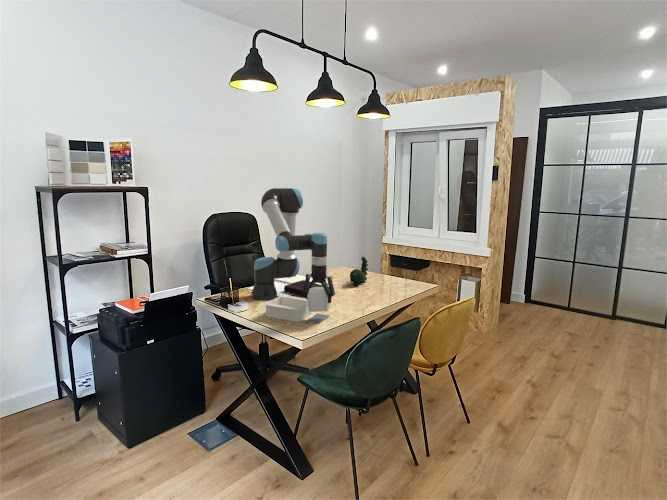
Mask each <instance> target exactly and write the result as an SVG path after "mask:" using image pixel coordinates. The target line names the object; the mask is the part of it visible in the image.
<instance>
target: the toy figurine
mask: <svg viewBox="0 0 667 500" xmlns="http://www.w3.org/2000/svg"><path fill="white" fill-rule="evenodd" d="M360 258H361V262H362V263H361V267H360V269H359V268H355V269H353V270H351V271H350V272H349V273H350V274H349V279H350V280H349V281H351V282H352V285H353V286H355V287H358V286H359V285H360V284H362V285H363V284H365V283H366V282H367V280H368V278H367V276H368V272H367V271H368V269H369V268H367V267H368V266H369V265H368V260H367V259H366V257H365V256H361V257H360Z"/></svg>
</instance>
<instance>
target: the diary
mask: <svg viewBox="0 0 667 500" xmlns="http://www.w3.org/2000/svg"><path fill="white" fill-rule="evenodd" d="M305 280H306V279H305ZM305 280H304V279H302V280H298V281H295V282H292V283H289V284H285V285H284V287H283V291H285V292H284V293H287V292H289V293H288V294H291V293H292V295H296V296H299V297H301V298H306V293H305V292H303V287H304V284H305ZM310 284H311V280H310V281H309V284H308V287H309V286H310ZM314 287H323V285H322V284H321V283H315V284H314V286H313V288H314ZM328 288H329V286H328ZM307 289H308V288H307ZM329 290H330V289H329Z"/></svg>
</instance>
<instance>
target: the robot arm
mask: <svg viewBox="0 0 667 500" xmlns="http://www.w3.org/2000/svg"><path fill="white" fill-rule="evenodd" d="M260 202H261V203H260V205H261V208H262V210H263V212H264V213H265V214H266V215H267V217H268V220H269V222H270V224H271V227H272V229H273V231H274V235H275V236H276V237H275V240H274V244H275V249H276V250H277V251H278V252H279V253H278V254H277V255H276V259H275V257H274V256H264V257H260V258H257V259H256V260H254V263H253V265H254V266H253V271H254V275H253V276H254V277H253V279H254V284H253V287H252V291H251V298H252V299H254V300H260V301H267V300H268V301H271V300H273V299H276V298H278V292H277V288H276V285H275V280H276V279H287V278H288V279H290V278H294V277H297V275H298V273H299V271H300V266H301V265H300V260H299V258H298V257H297V255H296V254H295V251H306V250H307V251H311V268H310V269H311V273H308V272H307V273H306V274H305V284H304V287H303V292H305V293H306V297H305V299H306V300H307V307H308V293H309V289H310V288H313V286H314V284H315V283H316V284H320V285H323V287H324V290H325V292H326V294H327V297H326V310H328V309H329V310H330V309H331V303H332V297H334V296H336V291H335V287H334V283H333V276H332V275H328V274H327V270H328V269H327V267H328V266H327V264H328V262H327V261H328V258H327V256H328V253H327V252H328V236H327V234H326V233H325V232H314V233H312V234H311V233H310V234H309V233H307V234H304V235H302V234H300V235H296V224H297V223H296V221H297V215H298V214H299V211H300V210H301V209H302V208H303V205H304V199H303V194H302V192H301V191H300V190H299V189H297V188H293V187H292V188H291V187H290V188H289V187H286V188H285V187H284V188H283V187H282V188H281V187H279V188H277V187H273V188H270V189H268V190H266V191H265V193H264V194H263V195H262V197H261V201H260ZM311 278H312V280H311ZM326 280H327V281H326ZM309 281H310V282H311V284H310V286H309V287H308V284H309ZM328 287H329V288H328ZM307 288H308V289H307ZM329 289H330V290H329ZM329 310H328V311H329Z"/></svg>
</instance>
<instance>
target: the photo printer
mask: <svg viewBox="0 0 667 500" xmlns="http://www.w3.org/2000/svg"><path fill="white" fill-rule="evenodd" d="M326 297H327V294H326V292H325V290H324V287H314V288H310V289H309V293H308V311H309V312H311V313H312V312H313V313H316V312H317V313H318V312H329V310H330V309H328V310H326Z"/></svg>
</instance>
